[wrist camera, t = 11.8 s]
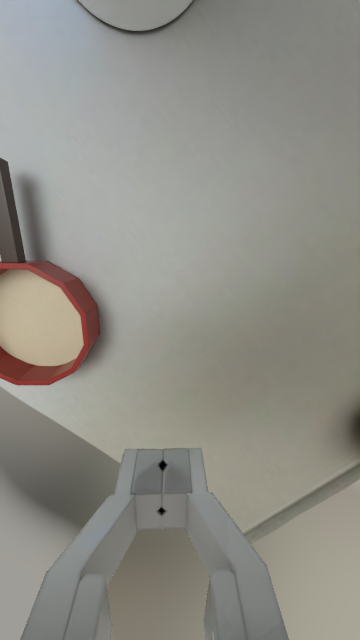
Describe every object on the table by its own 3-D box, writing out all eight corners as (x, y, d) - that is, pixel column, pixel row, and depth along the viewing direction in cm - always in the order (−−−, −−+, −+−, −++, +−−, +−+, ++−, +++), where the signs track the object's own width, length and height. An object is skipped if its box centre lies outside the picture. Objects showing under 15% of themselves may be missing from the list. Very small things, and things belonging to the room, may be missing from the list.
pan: (-56, 166, 22) (-104, 148, 18) (86, 173, 22) (68, 158, 19) (-4, 367, 29) (-30, 385, 25) (103, 368, 30) (93, 385, 26)
